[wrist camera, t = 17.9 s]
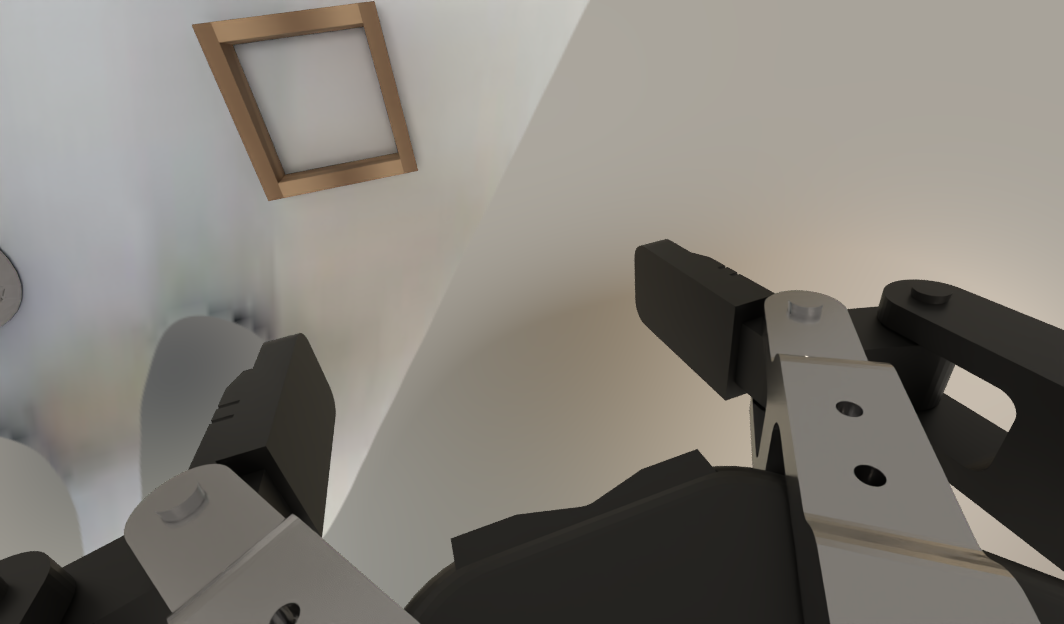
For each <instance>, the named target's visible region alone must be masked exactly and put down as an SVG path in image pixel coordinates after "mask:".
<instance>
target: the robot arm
mask: <svg viewBox="0 0 1064 624" xmlns="http://www.w3.org/2000/svg"><path fill="white" fill-rule="evenodd" d="M635 298H636V299H635V300H636V308H637V311H638V314H639V317H640V318H641V320H642V322H643V323H644V324H645V325H646V326H647V327H648V328H649V329H650V330H651V331H652V332H653V333H654V334H655V335H656V336H657V337H658V338H659V339H661V340H662V341H663V342H664V343H665V344H666V345H667V346H668V347H669V348H670V349H671V350H672V351H673V352H674V353H675V354H676V355H678V356H679V357H680V358H681V359H682V360H683V361H684V362H685V363H686V364H687V365H688V366H689V367H690V368H691V369H693V370H694V371H695V372H696V373H697V374H698V375H699V376H700V377H701V378H702V379H703V380H704V381H705V382H707V384H708V385H709V386H710V387H712V388H713V389H714V390H715V391H716V392H717V393H718V394H719V395H720V396H721V397H722V398H723V399H724V400H728V399H731V398H734V397H737V396H740V395H743V394H746V393H748V394H749V395H750V396H751V401H750V410H749V412H750V430H751V446H752V465H753V468H750V467H739V466H715V467H712V466H711V465H710V463H709V462H708V461H707V460H706V459H705V458H704V457H703V455H702V454H701V453H700V452H699V451H698V449H696V450H694V451H691V452H688V453H685V454H682V455H680V456H677V457H674V458H672V459H669V460H666V461H663V462H660V463H658V464H655V465H652V466H649V467H647V468H644V469H641V470H640V471H639V472H637V473H636V474H634V475H633V476H632V477H630V478H628V479H627V480H625V481H624V482H622V483H621V484H620V485H618V486H617V487H615V488H614V489H612V490H611V491H609V492H608V493H606V494H605V495H603V496H602V497H601V498H599V499H598V500H596V501H595V502H593V503H591V504H589V505H587V506H583V507H577V508H568V509H559V510H551V511H543V512H535V513H527V514H519V515H514V516H512V517H509V518H506V519H503V520H501V521H498V522H495V523H493V524H490V525H487V526H484V527H481V528H479V529H476V530H473V531H470V532H468V533H465V534H462V535H460V536H457V537H454V538H451V542H452V549H453V555H454V562H453V563H451V564H450V565H449V566H447V567H445V568H444V569H443V570H441V571H440V572H439V573H438V574H437V575H435V576H434V577H433V578H432V579H431V580H429V581H428V582H427V583H426V584H425V585H424V586H423V587H422V588H421V589H420V591H418V592H417V593H416V594H415V596H414V597H413V598H412V599H411V601H410V602H409V603H408V604H407V605H406V607H405V608H404V609H403V608H402V607H400V606H399V605H398V604H397V603H396V602H395V601H393V599H391V598H390V597H389V596H388V595H387V594H386V593H384V592H383V591H382V590H381V589H380V588H378V586H376V585H375V584H374V583H373V582H372V581H371V580H370V579H368V578H367V577H366V576H365V575H364V574H363V573H361V572H360V571H359V570H358V569H357V568H356V567H355V566H353V565H352V564H351V563H350V562H349V561H348V560H347V559H345V558H344V557H343V556H342V555H341V554H340V553H339V552H337V551H336V550H335V549H334V548H333V547H332V546H330V545H329V544H328V543H327V542H326V541H325V540H324V539H322V532H323V523H324V514H325V505H326V496H327V487H328V478H329V470H330V461H331V452H332V443H333V434H334V425H335V416H336V410H335V402H334V398H333V394H332V391H331V389H330V386H329V384H328V382H327V380H326V378H325V376H324V373H323V371H322V369H321V367H320V365H319V363H318V361H317V358H316V356H315V354H314V352H313V350H312V348H311V345H310V343H309V341H308V340H307V338H306V337H305V336H304V334H302V333H299V334H295V335H291V336H287V337H283V338H279V339H276V340H272V341H268V342H264V343H263V345H262V347H261V350H260V352H259V355H258V357H257V360H256V362H255V364H254V367H253V369H249V370H246V371H243V372H242V373H241V374H240V375H239V376H238V377H237V378H236V379H235V380H234V381H233V382H232V383H231V384H230V385H229V386H228V387H227V388H226V390H225V392H224V394H223V396H222V398H221V401H220V403H219V405H218V407H219V409H217V410H216V411H215V413H214V416H213V418H212V420H211V421H212V424H209V426H208V428H207V431H206V433H205V435H204V437H203V439H202V441H201V444H200V446H199V448H198V450H197V452H196V454H195V456H194V459H193V461H192V463H191V465H190V467H189V469H188V470H187V471H185V472H182V473H180V474H178V475H177V476H175V477H173V478H171V479H169V480H168V481H166V482H165V483H163V484H162V485H160V486H159V487H157V488H156V489H155V490H154V491H152V492H151V493H150V494H149V495H148V496H147V497H146V498H144V499H143V500H142V501H141V502H140V504H139V505H138V506H137V507H136V508H135V509H134V511H133V512H132V514H131V515H130V517H129V519H128V521H127V523H126V525H125V529H124V536H122V537H120V538H118V539H116V540H114V541H112V542H111V543H109V544H107V545H105V546H103V547H101V548H99V549H97V550H95V551H93V552H91V553H89V554H87V555H86V556H84V557H82V558H80V559H78V560H76V561H74V562H72V563H70V564H68V565H66V566H64V567H63V568H62V567H60V566H59V565H58V564H57V563H56V562H55V561H54V560H52V559H51V558H50V557H49V556H48V555H46V554H45V553H42V552H39V551H30V552H24V553H20V554H17V555H13V556H11V557H8V558H5V559H3V560H0V624H1064V580H1062V579H1059V578H1056V577H1054V576H1051V575H1048V574H1045V573H1043V572H1040V571H1038V570H1035V569H1032V568H1030V567H1027V566H1024V565H1022V564H1019V563H1016V562H1014V561H1011V560H1008V559H1006V558H1003V557H1000V556H998V555H995V554H992V553H989V552H986V551H984V550H981V548H980V547H979V545H978V543H977V541H976V539H975V537H974V535H973V533H972V531H971V529H970V526H969V524H968V522H967V520H966V518H965V516H964V514H963V512H962V509H961V507H960V505H959V503H958V501H957V499H956V497H955V495H954V493H953V491H952V488H951V486H950V484H951V485H952V486H954V487H955V488H956V489H958V490H959V491H960V492H961V493H963V494H964V495H965V496H967V497H968V498H969V499H970V500H972V501H973V502H974V503H976V504H977V505H979V506H980V507H981V508H982V509H983V510H985V511H986V512H987V513H989V514H990V515H991V516H993V517H994V518H995V519H996V520H998V521H999V522H1000V523H1002V524H1003V525H1004V526H1006V527H1007V528H1008V529H1009V530H1011V531H1012V532H1013V533H1015V534H1016V535H1017V536H1019V537H1020V538H1021V539H1023V540H1024V541H1025V542H1026V543H1027V544H1029V545H1030V546H1031V547H1033V548H1034V549H1035V550H1037V551H1038V552H1039V553H1040V554H1042V555H1043V556H1044V557H1046V558H1047V559H1048V560H1050V561H1051V562H1052V563H1053V564H1055V565H1056V566H1057V567H1059V568H1060V569H1061V570H1062V571H1064V330H1062V329H1060V328H1057V327H1055V326H1052V325H1050V324H1047V323H1045V322H1042V321H1040V320H1037V319H1035V318H1033V317H1030V316H1027V315H1025V314H1022V313H1020V312H1017V311H1015V310H1013V309H1010V308H1008V307H1005V306H1003V305H1000V304H998V303H995V302H993V301H990V300H988V299H985V298H983V297H981V296H978V295H976V294H973V293H970V292H968V291H966V290H963V289H961V288H958V287H955V286H952V285H949V284H945V283H940V282H935V281H928V280H901V281H896V282H892V283H890V284H888V285H887V286H886V287H885V288H884V290H883V293H882V297H881V300H880V304H879V307H867V308H856V309H846V307H845V306H844V305H843V304H842V303H841V302H839V301H838V300H836V299H834V298H832V297H830V296H827V295H824V294H821V293H816V292H811V291H802V290H801V291H800V290H791V291H784V292H779V293H773V292H771V291H770V290H768V289H766V288H764V287H762V286H761V285H759V284H757V283H755V282H753V281H752V280H750V279H748V278H746V277H744V276H743V275H740V274H739V275H738V274H737V272H735V271H734V270H732V269H730V268H728V267H727V268H725V266H724V265H723V264H721V263H719V262H718V261H716V260H714V259H712V258H710V257H707V256H703V255H699V254H695V253H691V252H689V251H688V250H686V249H684V248H682V247H681V246H679V245H677V244H676V243H674V242H672V241H670V240H668V239H665V240H661V241H657V242H653V243H649V244H646V245H641V246H639V247H637V249H636V251H635ZM21 299H22V289H21V283H20V280H19V277H18V274H17V272H16V270H15V269H14V267H13V266H12V264H11V263H10V261H9V259H8V258H7V257H6V256H5V255H4V254H3V253H2V252H1V251H0V327H1V326H3V325H4V324H5V323H7V322H8V321H9V320H11V318H12V317H13V316H14V314H15V313H16V312H17V310H18V308H19V305H20V302H21ZM955 365H958V366H959V367H961V368H963V369H965V370H967V371H968V372H970V373H972V374H974V375H976V376H978V377H979V378H981V379H983V380H985V381H987V382H989V383H990V384H992V385H994V386H996V387H998V388H999V389H1001V390H1002V391H1003V392H1005V393H1006V394H1007V395H1008V396H1009V397H1010V399H1011V400H1012V402H1013V403H1014V405H1015V408H1016V419H1015V421H1014V423H1013V425H1012V426H1011V429H1010V430H1009V432H1006V431H1005V430H1003V429H1002V428H1000V427H998V426H997V425H995V424H994V423H992V422H990V421H989V420H987V419H985V418H984V417H982V416H980V415H979V414H977V413H976V412H974V411H972V410H971V409H969V408H967V407H966V406H964V405H962V404H961V403H959V402H957V401H956V400H954V399H952V398H951V397H949V396H948V395H946V394H944V393H943V392H944V390H945V388H946V385H947V383H948V380H949V378H950V376H951V373H952V371H953V368H954V366H955ZM949 483H950V484H949Z"/></svg>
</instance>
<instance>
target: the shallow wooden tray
mask: <svg viewBox="0 0 1064 624" xmlns="http://www.w3.org/2000/svg"><path fill="white" fill-rule="evenodd" d="M192 27H193V29H194V32H195V34H196V36H197V38H198V41H199V43H200V45H201V48H202V50H203V52H204V54H205V57H206V59H207V61H208V64H209V66H210V68H211V71H212V73H213V75H214V77H215V80H216V82H217V84H218V87H219V89H220V91H221V93H222V96H223V98H224V100H225V103H226V105H227V107H228V109H229V112H230V114H231V116H232V119H233V121H234V123H235V125H236V128H237V130H238V132H239V135H240V137H241V139H242V141H243V144H244V146H245V148H246V151H247V153H248V155H249V158H250V160H251V162H252V164H253V167H254V169H255V171H256V174H257V176H258V178H259V180H260V183H261V185H262V187H263V190H264V192H265V194H266V196H267V199H268V201H271V200H276V199H281V198H286V197H291V196H296V195H301V194H306V193H311V192H316V191H320V190H325V189H330V188H335V187H340V186H345V185H350V184H355V183H360V182H365V181H370V180H375V179H380V178H384V177H389V176H394V175H399V174H404V173H409V172H414V171H418V168H417V165H416V161H415V157H414V153H413V149H412V145H411V141H410V138H409V134H408V130H407V126H406V122H405V118H404V114H403V110H402V107H401V103H400V99H399V95H398V91H397V87H396V83H395V79H394V76H393V72H392V68H391V64H390V60H389V56H388V52H387V48H386V45H385V41H384V37H383V33H382V29H381V25H380V21H379V17H378V14H377V10H376V6H375V2H374V1H371V2H363V3H355V4H348V5H340V6H332V7H324V8H317V9H309V10H301V11H294V12H286V13H278V14H270V15H263V16H255V17H247V18H239V19H232V20H224V21H216V22H208V23H201V24H193V25H192ZM358 27H364V29H365V33H366V37H367V40H368V44H369V48H370V51H371V55H372V58H373V62H374V66H375V69H376V73H377V77H378V80H379V84H380V88H381V91H382V95H383V99H384V102H385V106H386V109H387V113H388V117H389V120H390V124H391V128H392V131H393V135H394V139H395V142H396V146H397V150H398V153H394V154H389V155H384V156H379V157H373V158H368V159H363V160H358V161H353V162H348V163H343V164H337V165H332V166H327V167H322V168H317V169H312V170H306V171H301V172H296V173H291V174H286V175H285V173H284V170H283V168H282V165H281V163H280V160H279V158H278V155H277V153H276V150H275V148H274V146H273V143H272V141H271V138H270V136H269V133H268V131H267V128H266V126H265V123H264V121H263V118H262V116H261V113H260V111H259V109H258V106H257V104H256V101H255V99H254V96H253V94H252V91H251V89H250V86H249V84H248V81H247V79H246V76H245V74H244V72H243V69H242V67H241V64H240V62H239V59H238V57H237V54H236V52H235V49H234V47H233V45H235V44H243V43H250V42H257V41H264V40H271V39H279V38H286V37H293V36H300V35H307V34H314V33H322V32H329V31H336V30H343V29H350V28H358Z"/></svg>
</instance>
